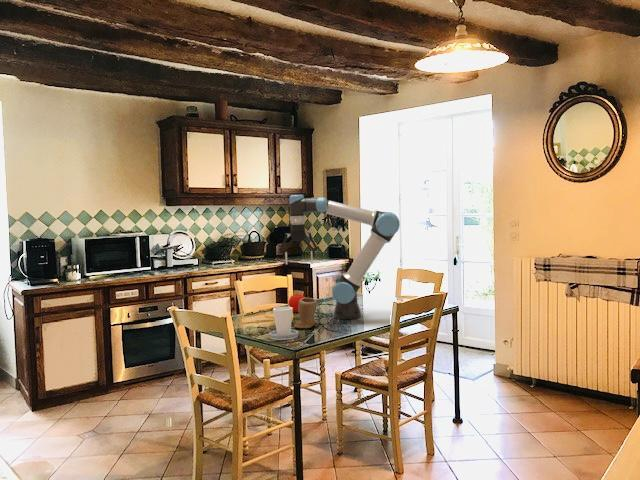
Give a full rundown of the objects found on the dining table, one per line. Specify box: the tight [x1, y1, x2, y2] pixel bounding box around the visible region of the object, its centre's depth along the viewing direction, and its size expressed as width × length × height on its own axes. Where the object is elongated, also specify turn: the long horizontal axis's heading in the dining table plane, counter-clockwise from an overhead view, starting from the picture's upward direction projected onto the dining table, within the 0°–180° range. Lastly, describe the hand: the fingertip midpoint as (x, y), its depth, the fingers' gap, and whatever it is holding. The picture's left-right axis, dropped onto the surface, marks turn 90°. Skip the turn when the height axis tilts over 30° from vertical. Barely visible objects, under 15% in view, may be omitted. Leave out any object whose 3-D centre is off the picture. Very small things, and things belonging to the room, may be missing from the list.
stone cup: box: [293, 297, 318, 329], centre depth 294 cm, size 15×12×15 cm
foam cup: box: [272, 306, 294, 336], centre depth 274 cm, size 10×9×13 cm
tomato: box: [288, 293, 306, 313], centre depth 334 cm, size 10×11×11 cm
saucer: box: [268, 328, 299, 341], centre depth 275 cm, size 14×14×2 cm
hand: (299, 263), depth 302 cm, fingers open, 13 cm apart
